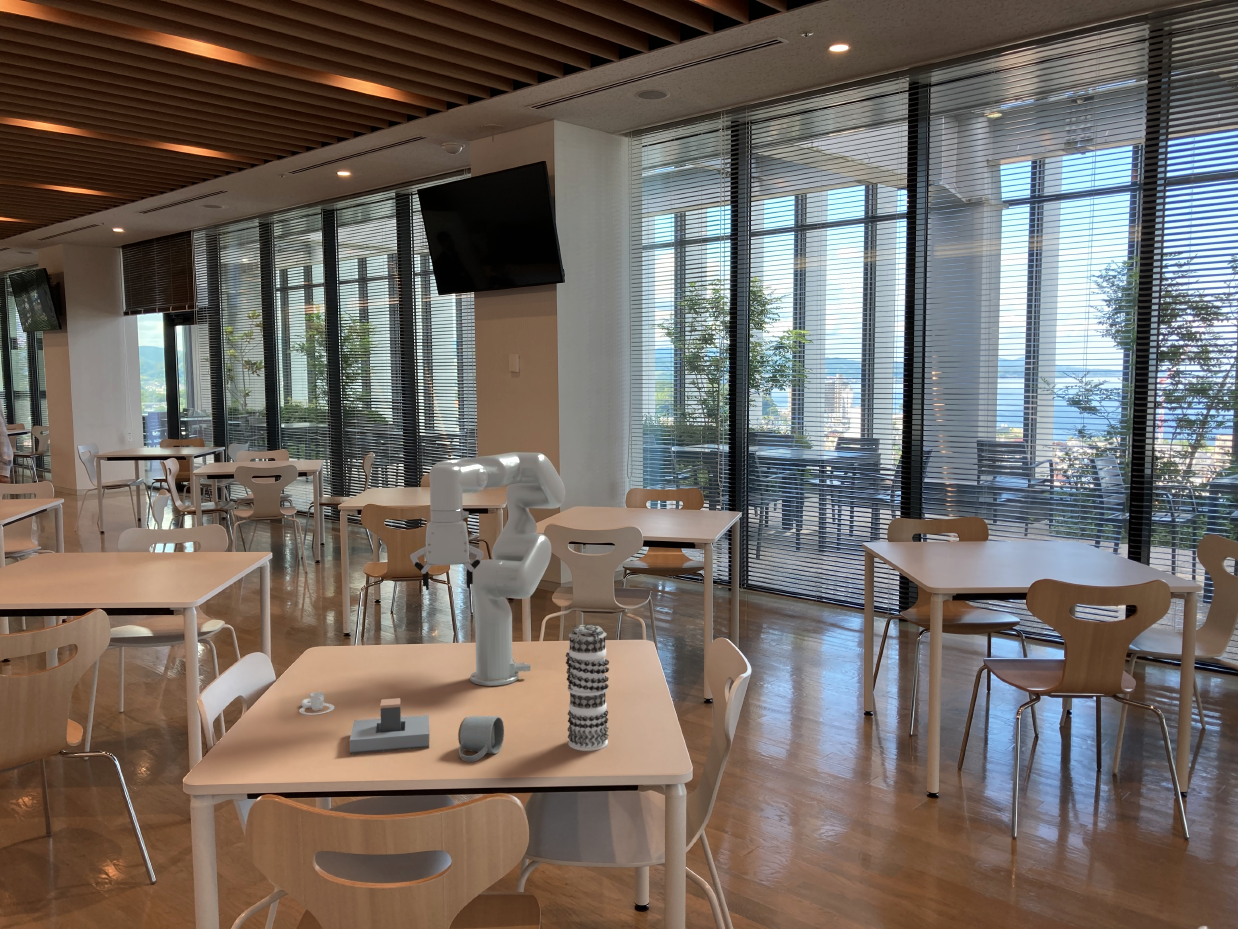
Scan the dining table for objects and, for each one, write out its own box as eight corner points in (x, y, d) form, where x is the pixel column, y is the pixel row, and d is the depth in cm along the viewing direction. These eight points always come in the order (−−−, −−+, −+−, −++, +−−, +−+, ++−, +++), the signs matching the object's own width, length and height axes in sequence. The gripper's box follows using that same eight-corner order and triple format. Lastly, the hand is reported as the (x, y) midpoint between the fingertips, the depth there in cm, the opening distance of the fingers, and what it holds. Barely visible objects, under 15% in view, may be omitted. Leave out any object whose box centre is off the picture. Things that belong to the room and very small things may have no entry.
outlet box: (428, 728, 200) (428, 714, 200) (429, 747, 189) (428, 733, 188) (354, 733, 197) (354, 720, 197) (349, 754, 185) (349, 740, 185)
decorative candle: (559, 740, 192) (557, 625, 191) (597, 732, 197) (596, 620, 195) (578, 754, 184) (577, 634, 183) (617, 746, 189) (616, 629, 187)
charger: (401, 734, 195) (400, 698, 195) (400, 741, 191) (399, 704, 191) (382, 735, 194) (381, 699, 194) (381, 742, 190) (380, 705, 190)
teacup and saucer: (298, 706, 216) (298, 690, 216) (333, 702, 219) (332, 686, 219) (299, 718, 208) (299, 701, 208) (335, 714, 211) (335, 697, 211)
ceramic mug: (470, 742, 192) (469, 708, 191) (505, 745, 190) (504, 711, 189) (450, 761, 182) (449, 726, 181) (486, 765, 180) (485, 729, 179)
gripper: (482, 514, 219) (483, 583, 220) (409, 516, 215) (411, 587, 216) (484, 517, 211) (485, 589, 212) (409, 520, 208) (410, 593, 209)
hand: (447, 588), depth 214 cm, fingers open, 9 cm apart
